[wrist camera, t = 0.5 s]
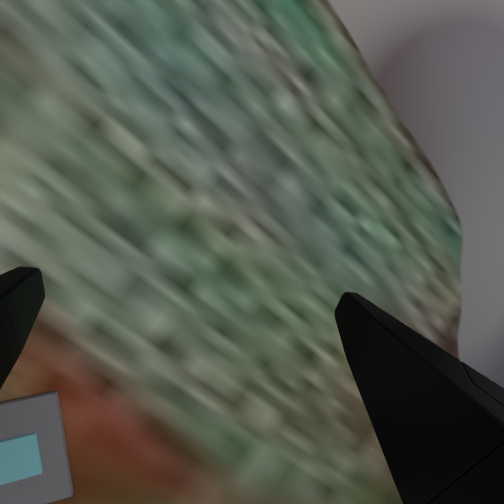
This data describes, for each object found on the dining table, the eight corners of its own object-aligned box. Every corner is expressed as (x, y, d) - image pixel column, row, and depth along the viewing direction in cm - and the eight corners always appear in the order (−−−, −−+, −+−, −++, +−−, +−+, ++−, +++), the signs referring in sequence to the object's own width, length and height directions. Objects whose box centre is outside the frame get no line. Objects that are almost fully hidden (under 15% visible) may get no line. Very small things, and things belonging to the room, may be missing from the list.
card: (73, 491, 21) (70, 498, 21) (-26, 521, 19) (-32, 529, 19) (57, 390, 20) (54, 394, 20) (-48, 412, 19) (-55, 417, 18)
